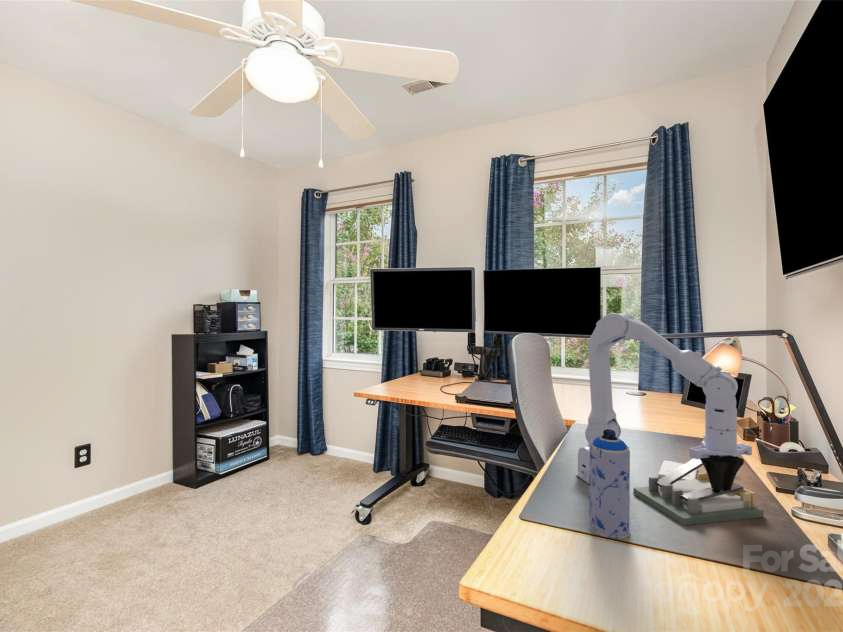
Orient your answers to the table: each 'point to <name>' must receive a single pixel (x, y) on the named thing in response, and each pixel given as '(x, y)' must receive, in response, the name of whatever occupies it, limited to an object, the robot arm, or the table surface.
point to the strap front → (710, 492)
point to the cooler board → (693, 518)
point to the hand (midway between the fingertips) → (720, 488)
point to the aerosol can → (609, 486)
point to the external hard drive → (671, 466)
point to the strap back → (680, 472)
